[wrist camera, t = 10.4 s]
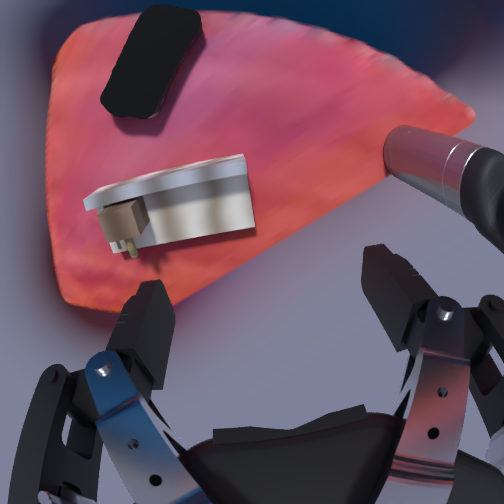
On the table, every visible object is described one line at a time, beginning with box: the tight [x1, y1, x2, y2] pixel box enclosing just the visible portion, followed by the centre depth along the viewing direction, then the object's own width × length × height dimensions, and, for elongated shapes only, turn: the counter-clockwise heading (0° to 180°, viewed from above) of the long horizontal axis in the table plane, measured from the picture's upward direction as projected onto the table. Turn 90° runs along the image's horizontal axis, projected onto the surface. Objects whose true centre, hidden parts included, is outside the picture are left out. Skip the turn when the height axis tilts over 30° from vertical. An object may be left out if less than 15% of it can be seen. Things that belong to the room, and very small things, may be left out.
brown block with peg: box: [97, 195, 150, 258], centre depth 34 cm, size 5×8×5 cm, turn 9°
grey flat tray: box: [83, 154, 255, 253], centre depth 35 cm, size 22×10×6 cm, turn 99°
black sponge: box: [100, 5, 202, 119], centre depth 26 cm, size 16×8×4 cm, turn 154°
